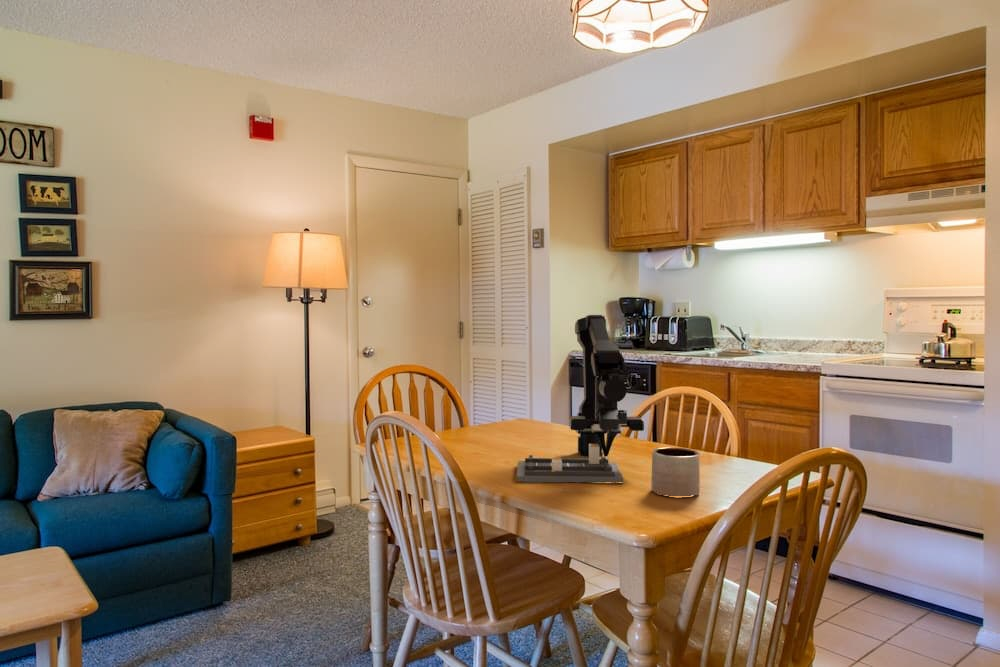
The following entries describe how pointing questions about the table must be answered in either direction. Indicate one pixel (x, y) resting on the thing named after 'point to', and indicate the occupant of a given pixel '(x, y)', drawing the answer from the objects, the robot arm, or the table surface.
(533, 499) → the table surface
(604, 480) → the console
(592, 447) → the fader
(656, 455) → the planter
